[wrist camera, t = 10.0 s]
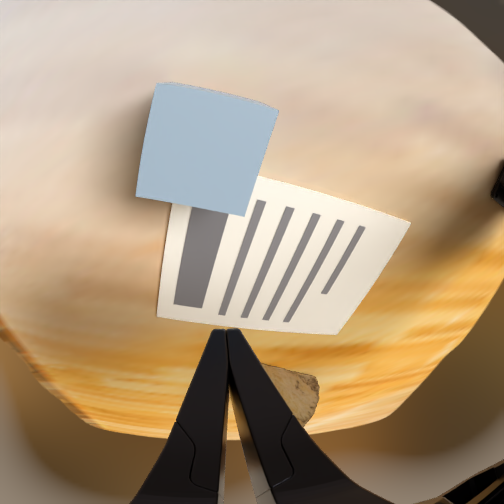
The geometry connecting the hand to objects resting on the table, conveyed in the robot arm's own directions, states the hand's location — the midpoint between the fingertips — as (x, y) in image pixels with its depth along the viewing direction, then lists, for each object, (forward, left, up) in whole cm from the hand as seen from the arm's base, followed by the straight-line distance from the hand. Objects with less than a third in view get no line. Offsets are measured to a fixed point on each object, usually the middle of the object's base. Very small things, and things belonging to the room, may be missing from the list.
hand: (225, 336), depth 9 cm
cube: (+2, -3, -11) cm, 12 cm away
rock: (-12, +21, -11) cm, 27 cm away
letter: (-6, +6, -11) cm, 14 cm away
